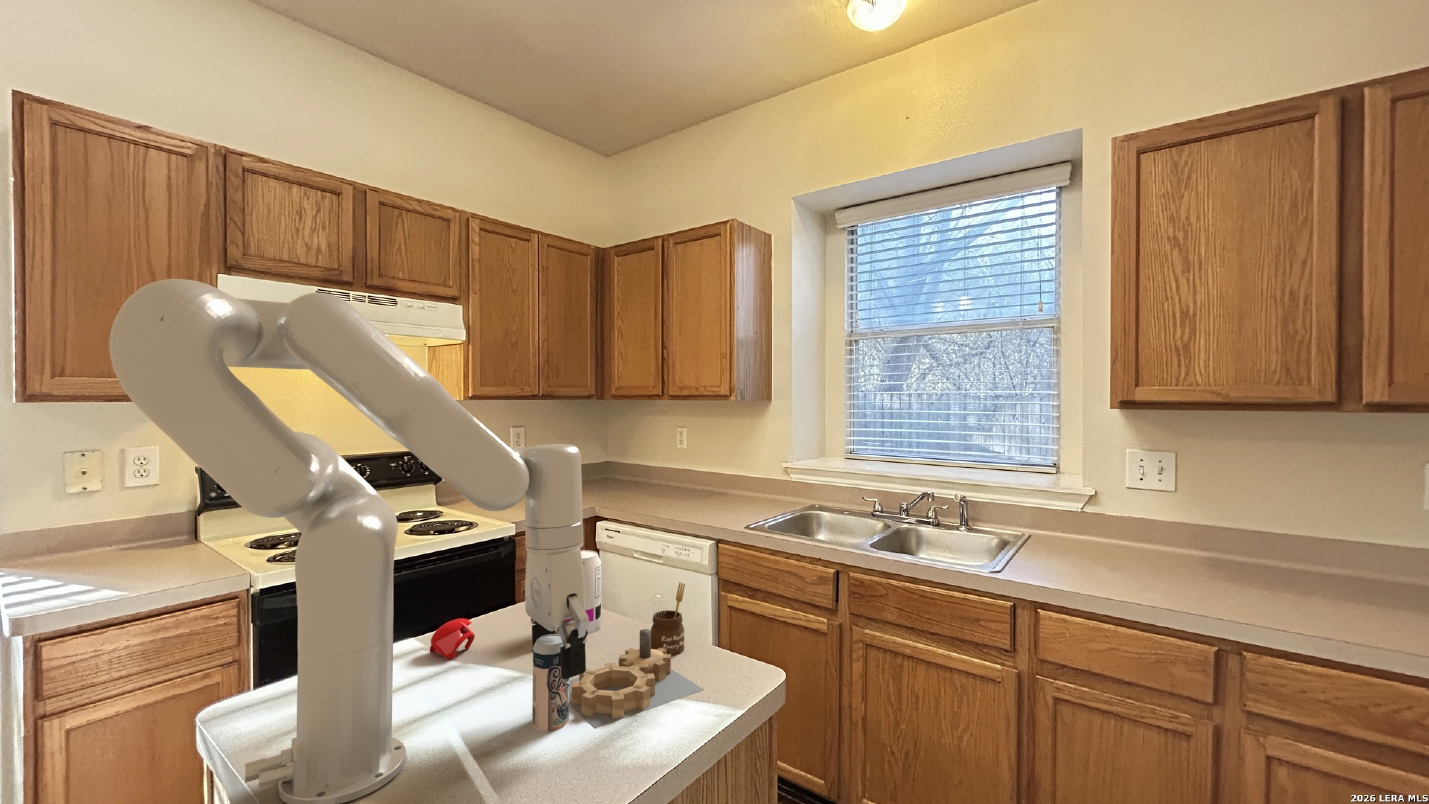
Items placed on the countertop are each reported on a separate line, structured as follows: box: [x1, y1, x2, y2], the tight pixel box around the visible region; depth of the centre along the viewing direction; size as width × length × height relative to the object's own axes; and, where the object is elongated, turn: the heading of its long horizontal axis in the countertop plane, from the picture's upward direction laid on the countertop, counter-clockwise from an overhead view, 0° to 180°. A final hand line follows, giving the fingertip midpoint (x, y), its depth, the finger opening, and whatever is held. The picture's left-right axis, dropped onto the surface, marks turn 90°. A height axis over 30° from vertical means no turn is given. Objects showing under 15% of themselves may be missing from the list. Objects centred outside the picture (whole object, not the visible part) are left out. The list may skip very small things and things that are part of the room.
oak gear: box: [572, 662, 655, 718], centre depth 87 cm, size 12×12×2 cm
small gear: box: [618, 628, 672, 681], centre depth 95 cm, size 8×8×6 cm
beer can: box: [531, 633, 570, 732], centre depth 80 cm, size 5×5×12 cm
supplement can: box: [556, 549, 602, 636], centre depth 115 cm, size 8×8×15 cm
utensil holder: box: [650, 581, 686, 657], centre depth 104 cm, size 6×6×12 cm
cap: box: [429, 618, 476, 660], centre depth 104 cm, size 8×6×6 cm
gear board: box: [569, 668, 705, 729], centre depth 90 cm, size 18×15×1 cm
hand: (558, 662), depth 80 cm, fingers open, 9 cm apart
